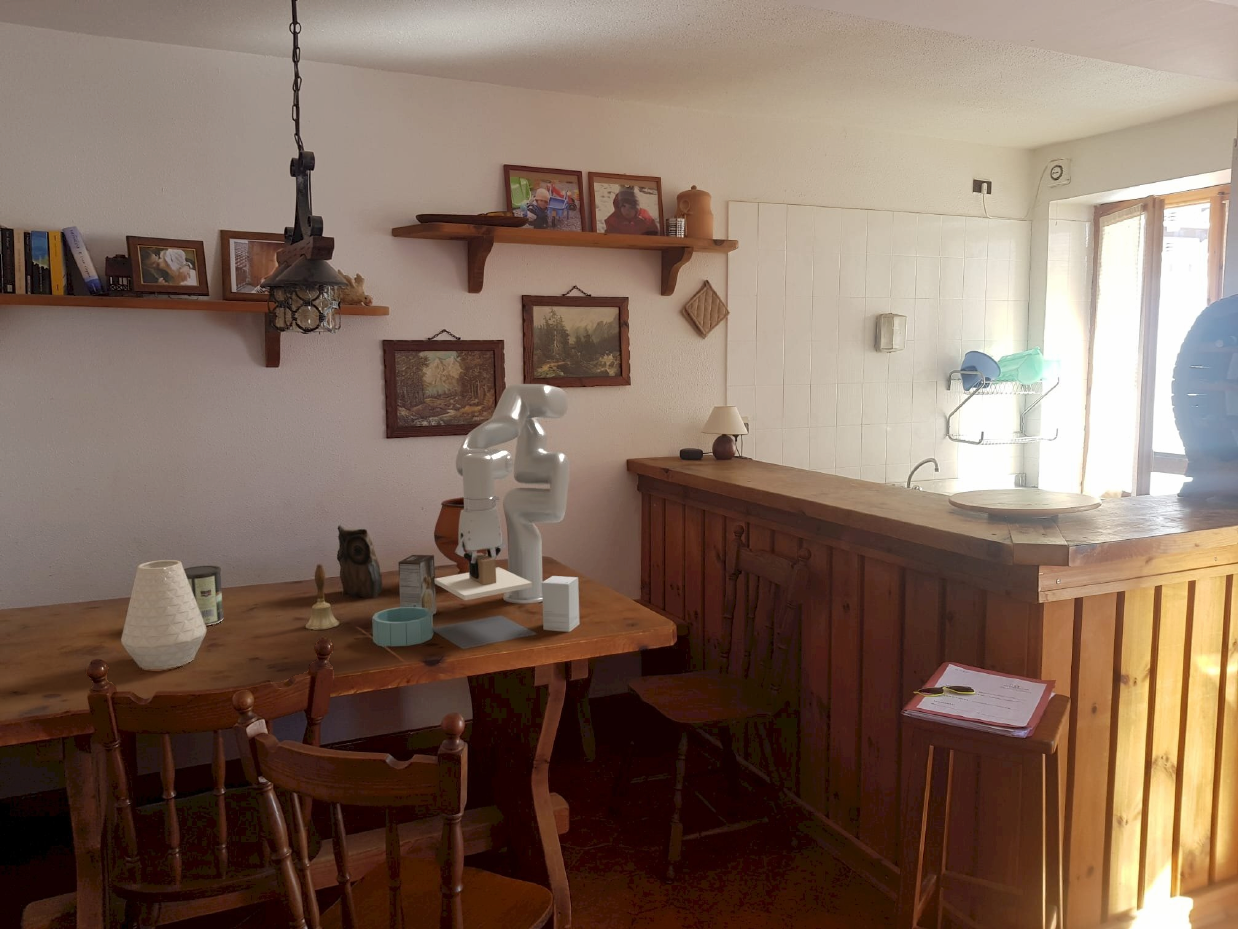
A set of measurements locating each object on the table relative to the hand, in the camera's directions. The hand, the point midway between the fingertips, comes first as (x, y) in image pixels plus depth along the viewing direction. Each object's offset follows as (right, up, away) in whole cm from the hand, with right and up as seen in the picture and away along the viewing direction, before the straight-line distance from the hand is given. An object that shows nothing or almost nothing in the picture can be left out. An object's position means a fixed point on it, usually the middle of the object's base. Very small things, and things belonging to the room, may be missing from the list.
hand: (482, 575), depth 234 cm
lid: (0, -2, 0) cm, 3 cm away
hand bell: (-43, -14, +9) cm, 46 cm away
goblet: (-12, -8, +53) cm, 55 cm away
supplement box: (+19, -14, +4) cm, 24 cm away
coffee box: (-19, -13, +15) cm, 27 cm away
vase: (-69, -18, -20) cm, 74 cm away
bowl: (-19, -15, -3) cm, 24 cm away
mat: (0, -14, +1) cm, 14 cm away
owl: (-40, -10, +40) cm, 58 cm away
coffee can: (-75, -14, +12) cm, 77 cm away
